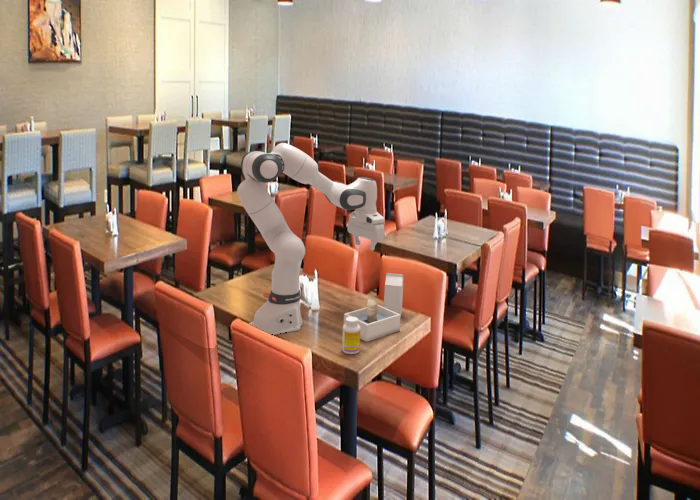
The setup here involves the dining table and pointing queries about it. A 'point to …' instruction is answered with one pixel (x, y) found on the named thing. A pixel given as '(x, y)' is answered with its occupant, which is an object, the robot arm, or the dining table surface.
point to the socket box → (376, 323)
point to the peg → (372, 310)
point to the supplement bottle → (351, 336)
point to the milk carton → (393, 292)
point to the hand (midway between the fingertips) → (364, 247)
